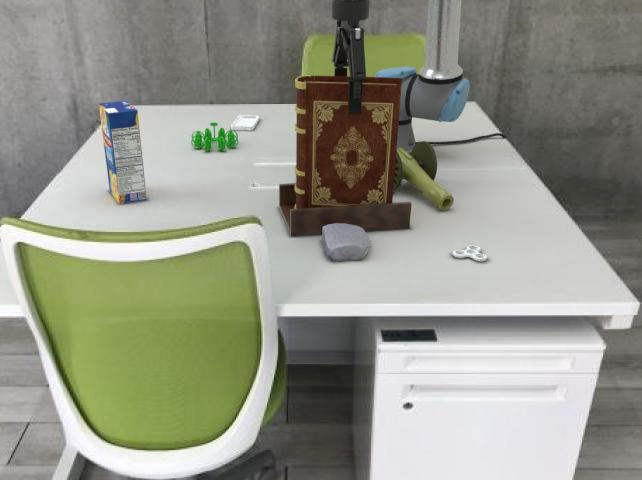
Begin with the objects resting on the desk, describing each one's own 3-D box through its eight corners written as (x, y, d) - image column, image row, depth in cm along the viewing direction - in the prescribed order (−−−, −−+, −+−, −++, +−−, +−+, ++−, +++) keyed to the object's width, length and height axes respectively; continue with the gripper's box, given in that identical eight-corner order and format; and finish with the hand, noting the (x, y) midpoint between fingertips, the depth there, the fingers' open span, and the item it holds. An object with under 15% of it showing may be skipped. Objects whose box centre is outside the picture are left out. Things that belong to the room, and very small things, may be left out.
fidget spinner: (488, 261, 147) (489, 257, 147) (457, 262, 147) (458, 259, 146) (477, 247, 153) (478, 244, 153) (447, 248, 153) (448, 245, 152)
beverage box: (119, 204, 178) (108, 113, 167) (109, 190, 187) (98, 103, 175) (146, 200, 180) (137, 110, 169) (135, 187, 189) (126, 100, 178)
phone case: (252, 130, 235) (260, 119, 248) (252, 126, 235) (260, 115, 247) (230, 130, 236) (239, 118, 249) (230, 125, 236) (238, 114, 248)
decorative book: (292, 217, 167) (292, 81, 151) (297, 205, 174) (298, 74, 158) (390, 223, 163) (400, 85, 148) (391, 210, 170) (402, 77, 155)
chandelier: (228, 155, 212) (227, 131, 209) (182, 151, 216) (180, 127, 213) (246, 141, 224) (246, 119, 221) (202, 138, 229) (201, 115, 225)
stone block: (361, 245, 159) (317, 238, 158) (367, 225, 157) (322, 218, 155) (371, 270, 149) (324, 263, 148) (377, 249, 147) (330, 242, 145)
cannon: (466, 207, 174) (472, 161, 168) (424, 215, 170) (429, 168, 164) (410, 177, 193) (414, 134, 188) (371, 183, 189) (374, 140, 184)
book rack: (387, 201, 178) (389, 177, 175) (409, 228, 163) (411, 203, 160) (279, 207, 175) (278, 183, 172) (291, 236, 160) (291, 210, 156)
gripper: (386, 4, 135) (379, 119, 146) (354, -10, 156) (350, 92, 167) (346, 5, 134) (342, 121, 145) (320, -9, 155) (318, 93, 166)
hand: (346, 106), depth 156 cm, fingers open, 13 cm apart
